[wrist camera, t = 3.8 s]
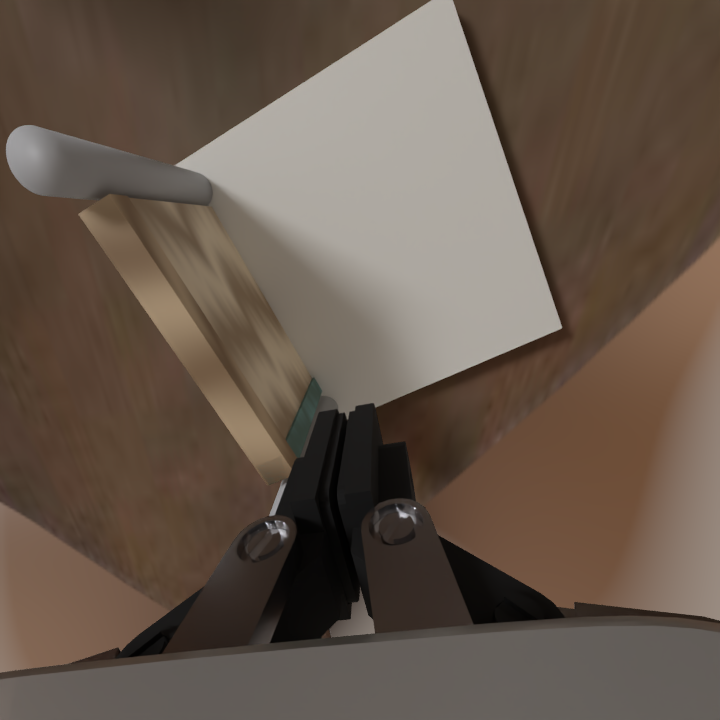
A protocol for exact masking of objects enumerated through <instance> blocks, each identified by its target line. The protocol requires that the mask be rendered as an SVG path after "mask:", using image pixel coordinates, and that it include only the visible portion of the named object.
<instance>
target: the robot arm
mask: <svg viewBox="0 0 720 720" xmlns="http://www.w3.org/2000/svg"><path fill="white" fill-rule="evenodd" d="M360 587H361V591H362V594H363V598H364V601H365V604H366V608H367V612H368V615H369V616H370V617H371V618H372V619H373V621H374V628H375V634H365V635H354V636H343V637H332V638H331V633H330V627H331V626H332V625H333V624H334V623H335V622H336V621H337V620H347V619H351V606H352V602H358V601H359V593H360ZM574 606H575V607H574V608H575V609H569V608H561V607H556V605H555V604H554V603H553V602H552V601H550V600H549V599H547V598H546V597H545V596H544V595H542V594H541V593H539V592H537V591H536V590H534V589H532V588H530V587H529V586H527V585H525V584H523V583H521V582H519V581H518V580H516V579H514V578H513V577H511V576H509V575H507V574H506V573H504V572H502V571H500V570H498V569H497V568H495V567H493V566H492V565H490V564H488V563H486V562H484V561H483V560H481V559H479V558H477V557H476V556H474V555H472V554H470V553H469V552H467V551H465V550H463V549H462V548H460V547H458V546H456V545H454V544H453V543H451V542H449V541H447V540H446V539H444V538H442V537H440V536H439V535H438V534H437V532H436V529H435V526H434V524H433V521H432V519H431V516H430V514H429V513H428V511H427V510H426V508H425V507H424V506H422V505H421V504H420V503H418V502H416V499H415V492H414V485H413V479H412V474H411V468H410V463H409V457H408V452H407V447H406V443H405V442H398V443H391V444H385V445H383V442H382V437H381V432H380V428H379V423H378V418H377V414H376V409H375V405H374V403H370V404H364V405H358V406H356V407H355V411H350V412H349V417H348V421H347V417H346V414H345V413H339V411H338V410H337V409H334V410H328V411H322V412H319V413H318V416H317V419H316V422H315V425H314V428H313V431H312V434H311V437H310V440H309V443H308V446H307V449H306V452H305V455H304V457H300V458H296V459H295V461H294V464H293V466H292V469H291V472H290V475H289V477H288V480H287V483H286V486H285V488H284V491H283V494H282V497H281V499H280V502H279V505H278V508H277V510H276V513H275V515H273V516H267V517H264V518H261V519H259V520H257V521H255V522H253V523H251V524H250V525H248V526H247V527H246V528H244V529H243V530H242V531H241V532H240V533H239V534H238V535H237V537H236V538H235V539H234V540H233V542H232V544H231V545H230V547H229V548H228V550H227V552H226V553H225V555H224V556H223V558H222V559H221V561H220V563H219V564H218V566H217V567H216V569H215V571H214V572H213V574H212V575H211V577H210V578H209V580H208V582H207V583H206V585H205V586H204V587H203V588H201V589H200V590H199V591H197V592H196V593H195V594H193V595H192V596H191V597H189V598H188V599H186V600H185V601H184V602H182V603H181V604H180V605H178V606H177V607H176V608H174V609H173V610H172V611H170V612H169V613H167V614H166V615H165V616H164V617H162V618H161V619H159V620H158V621H157V622H156V623H154V624H153V625H151V626H150V627H149V628H147V629H146V630H144V631H143V632H142V633H140V634H139V635H138V636H137V637H136V638H135V639H133V640H132V641H131V642H130V643H129V644H128V645H127V646H126V647H125V648H124V649H123V650H122V651H120V650H119V648H115V649H112V650H109V651H106V652H103V653H100V654H97V655H94V656H91V657H88V658H85V659H82V660H79V661H76V662H72V663H69V664H64V665H56V666H49V667H40V668H32V669H24V670H15V671H9V672H2V673H0V720H720V621H719V620H715V619H711V618H707V617H702V616H693V615H685V614H676V613H667V612H658V611H648V610H640V609H632V608H622V607H614V606H605V605H596V604H587V603H578V602H575V603H574Z"/></svg>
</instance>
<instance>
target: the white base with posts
mask: <svg viewBox="0 0 720 720" xmlns="http://www.w3.org/2000/svg"><path fill="white" fill-rule="evenodd" d="M6 156H7V161H8V164H9V166H10V169H11V171H12V173H13V174H14V176H15V177H16V179H17V180H18V181H19V182H20V183H21V184H22V185H23V186H24V187H25V188H27V189H28V190H30V191H31V192H33V193H36V194H38V195H43V196H54V197H65V198H77V199H89V200H101V199H102V198H104V197H105V196H107V195H109V194H116V195H125V196H128V197H129V198H136V199H146V200H155V201H164V202H174V203H183V204H193V205H202V206H211V207H212V208H213V210H214V211H215V213H216V215H217V216H218V218H219V220H220V222H221V223H222V225H223V227H224V228H225V230H226V232H227V234H228V235H229V237H230V239H231V240H232V242H233V244H234V245H235V247H236V249H237V251H238V252H239V254H240V256H241V257H242V259H243V261H244V263H245V264H246V266H247V268H248V269H249V271H250V273H251V275H252V276H253V278H254V280H255V281H256V283H257V285H258V286H259V288H260V290H261V292H262V293H263V295H264V297H265V298H266V300H267V302H268V304H269V305H270V307H271V309H272V310H273V312H274V314H275V316H276V317H277V319H278V321H279V322H280V324H281V326H282V327H283V329H284V331H285V333H286V334H287V336H288V338H289V339H290V341H291V343H292V345H293V346H294V348H295V350H296V351H297V353H298V355H299V357H300V358H301V360H302V362H303V363H304V365H305V367H306V369H307V370H308V372H309V374H310V375H311V377H312V378H313V377H314V378H315V379H316V381H317V383H318V384H319V386H320V388H321V390H322V393H321V396H320V399H319V402H318V405H317V408H316V411H315V414H314V417H313V420H312V423H311V426H310V429H309V432H308V435H307V438H306V441H305V444H304V447H303V450H302V453H301V456H300V457H304V455H305V452H306V449H307V446H308V443H309V440H310V437H311V434H312V431H313V428H314V425H315V422H316V419H317V416H318V413H319V412H322V411H328V410H334V409H337V410H338V411H339V413H345V414H346V417H347V419H348V417H349V412H350V411H355V407H356V406H358V405H364V404H370V403H374V405H375V408H376V407H378V406H380V405H383V404H385V403H387V402H390V401H392V400H394V399H397V398H399V397H401V396H404V395H406V394H409V393H411V392H413V391H416V390H418V389H420V388H423V387H425V386H427V385H430V384H432V383H434V382H437V381H439V380H442V379H444V378H446V377H449V376H451V375H453V374H456V373H458V372H460V371H463V370H465V369H467V368H470V367H472V366H474V365H477V364H479V363H482V362H484V361H486V360H489V359H491V358H493V357H496V356H498V355H500V354H503V353H505V352H507V351H510V350H512V349H515V348H517V347H519V346H522V345H524V344H526V343H529V342H531V341H533V340H536V339H538V338H540V337H543V336H545V335H548V334H550V333H552V332H555V331H557V330H559V329H562V326H561V323H560V320H559V317H558V314H557V311H556V308H555V305H554V302H553V299H552V296H551V293H550V290H549V287H548V284H547V281H546V278H545V275H544V272H543V269H542V266H541V263H540V260H539V257H538V254H537V251H536V248H535V245H534V242H533V239H532V236H531V233H530V230H529V227H528V224H527V221H526V218H525V215H524V212H523V209H522V206H521V203H520V200H519V197H518V194H517V191H516V188H515V185H514V182H513V179H512V176H511V173H510V170H509V167H508V164H507V161H506V158H505V155H504V152H503V149H502V146H501V143H500V140H499V137H498V134H497V131H496V128H495V125H494V122H493V119H492V116H491V113H490V110H489V107H488V104H487V101H486V98H485V95H484V92H483V89H482V86H481V83H480V80H479V77H478V74H477V71H476V68H475V65H474V62H473V59H472V56H471V53H470V50H469V47H468V44H467V41H466V38H465V36H464V33H463V30H462V27H461V24H460V21H459V18H458V15H457V12H456V9H455V6H454V3H453V0H432V1H430V2H428V3H427V4H425V5H424V6H422V7H421V8H419V9H418V10H416V11H414V12H413V13H411V14H410V15H408V16H407V17H405V18H404V19H402V20H400V21H399V22H397V23H396V24H394V25H393V26H391V27H390V28H388V29H386V30H385V31H383V32H382V33H380V34H379V35H377V36H376V37H374V38H372V39H371V40H369V41H368V42H366V43H365V44H363V45H362V46H360V47H358V48H357V49H355V50H354V51H352V52H351V53H349V54H348V55H346V56H344V57H343V58H341V59H340V60H338V61H337V62H335V63H334V64H332V65H330V66H329V67H327V68H326V69H324V70H323V71H321V72H320V73H318V74H316V75H315V76H313V77H312V78H310V79H309V80H307V81H305V82H304V83H302V84H301V85H299V86H298V87H296V88H295V89H293V90H291V91H290V92H288V93H287V94H285V95H284V96H282V97H281V98H279V99H277V100H276V101H274V102H273V103H271V104H270V105H268V106H267V107H265V108H263V109H262V110H260V111H259V112H257V113H256V114H254V115H253V116H251V117H249V118H248V119H246V120H245V121H243V122H242V123H240V124H239V125H237V126H235V127H234V128H232V129H231V130H229V131H228V132H226V133H225V134H223V135H221V136H220V137H218V138H217V139H215V140H214V141H212V142H211V143H209V144H207V145H206V146H204V147H203V148H201V149H200V150H198V151H197V152H195V153H193V154H192V155H190V156H189V157H187V158H186V159H184V160H183V161H181V162H179V163H178V164H176V165H175V166H173V165H170V164H166V163H163V162H159V161H156V160H152V159H149V158H145V157H142V156H138V155H135V154H131V153H128V152H124V151H121V150H117V149H114V148H110V147H107V146H103V145H100V144H96V143H93V142H89V141H86V140H82V139H79V138H75V137H72V136H68V135H65V134H61V133H58V132H54V131H51V130H47V129H44V128H40V127H37V126H32V125H25V126H21V127H18V128H17V129H15V130H14V131H13V132H12V133H11V134H10V136H9V138H8V141H7V145H6ZM287 480H288V478H286V479H284V480H283V481H282V483H281V486H280V489H279V491H278V494H277V497H276V499H275V502H274V505H273V507H272V510H271V513H270V515H269V516H273V515H275V513H276V510H277V508H278V505H279V502H280V499H281V497H282V494H283V491H284V488H285V486H286V483H287Z"/></svg>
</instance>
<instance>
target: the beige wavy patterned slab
mask: <svg viewBox="0 0 720 720" xmlns="http://www.w3.org/2000/svg"><path fill="white" fill-rule="evenodd" d="M79 216H80V217H81V219H82V220H83V222H84V223H85V224H86V226H87V227H88V229H89V230H90V232H91V233H92V234H93V236H94V237H95V239H96V240H97V242H98V243H99V245H100V246H101V247H102V249H103V250H104V252H105V253H106V255H107V256H108V257H109V259H110V260H111V262H112V263H113V265H114V266H115V267H116V269H117V270H118V272H119V273H120V275H121V276H122V277H123V279H124V280H125V282H126V283H127V285H128V286H129V288H130V289H131V290H132V292H133V293H134V295H135V296H136V298H137V299H138V300H139V302H140V303H141V305H142V306H143V308H144V309H145V310H146V312H147V313H148V315H149V316H150V318H151V319H152V321H153V322H154V323H155V325H156V326H157V328H158V329H159V331H160V332H161V333H162V335H163V336H164V338H165V339H166V341H167V342H168V343H169V345H170V346H171V348H172V349H173V351H174V352H175V353H176V355H177V356H178V358H179V359H180V361H181V362H182V364H183V365H184V366H185V368H186V369H187V371H188V372H189V374H190V375H191V376H192V378H193V379H194V381H195V382H196V384H197V385H198V386H199V388H200V389H201V391H202V392H203V394H204V395H205V397H206V398H207V399H208V401H209V402H210V404H211V405H212V407H213V408H214V409H215V411H216V412H217V414H218V415H219V417H220V418H221V419H222V421H223V422H224V424H225V425H226V427H227V428H228V429H229V431H230V432H231V434H232V435H233V437H234V438H235V440H236V441H237V442H238V444H239V445H240V447H241V448H242V450H243V451H244V452H245V454H246V455H247V457H248V458H249V460H250V461H251V462H252V464H253V465H254V467H255V468H256V470H257V471H258V473H259V474H260V475H261V477H262V478H263V480H264V481H265V483H266V484H267V485H268V486H269V485H271V484H274V483H276V482H279V481H281V480H284V479H286V478H288V477H289V475H290V472H291V469H292V466H293V464H294V461H295V459H296V458H300V456H301V453H302V450H303V447H304V444H305V441H306V438H307V435H308V432H309V429H310V426H311V423H312V420H313V417H314V414H315V411H316V408H317V405H318V402H319V399H320V396H321V393H322V390H321V388H320V386H319V384H318V383H317V381H316V379H315V378H314V377H313V378H312V377H311V375H310V374H309V372H308V370H307V369H306V367H305V365H304V363H303V362H302V360H301V358H300V357H299V355H298V353H297V351H296V350H295V348H294V346H293V345H292V343H291V341H290V339H289V338H288V336H287V334H286V333H285V331H284V329H283V327H282V326H281V324H280V322H279V321H278V319H277V317H276V316H275V314H274V312H273V310H272V309H271V307H270V305H269V304H268V302H267V300H266V298H265V297H264V295H263V293H262V292H261V290H260V288H259V286H258V285H257V283H256V281H255V280H254V278H253V276H252V275H251V273H250V271H249V269H248V268H247V266H246V264H245V263H244V261H243V259H242V257H241V256H240V254H239V252H238V251H237V249H236V247H235V245H234V244H233V242H232V240H231V239H230V237H229V235H228V234H227V232H226V230H225V228H224V227H223V225H222V223H221V222H220V220H219V218H218V216H217V215H216V213H215V211H214V210H213V208H212V207H211V206H202V205H193V204H183V203H174V202H164V201H155V200H146V199H136V198H129V197H128V196H125V195H116V194H109V195H107V196H105V197H104V198H102V199H101V200H99V201H98V202H96V203H95V204H93V205H92V206H90V207H89V208H87V209H85V210H84V211H82V212H81V213H79Z"/></svg>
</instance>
